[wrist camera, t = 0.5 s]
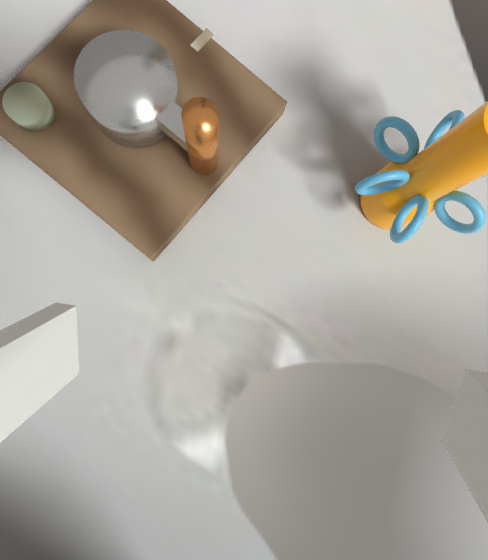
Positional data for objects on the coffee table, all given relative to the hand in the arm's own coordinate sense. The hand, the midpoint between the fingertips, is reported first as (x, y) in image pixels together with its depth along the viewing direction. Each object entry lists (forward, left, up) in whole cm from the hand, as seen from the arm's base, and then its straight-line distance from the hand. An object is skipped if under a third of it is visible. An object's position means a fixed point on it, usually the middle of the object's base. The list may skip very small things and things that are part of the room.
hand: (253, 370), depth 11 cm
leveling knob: (+10, +17, -19) cm, 27 cm away
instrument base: (+10, +20, -21) cm, 31 cm away
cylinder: (+20, -4, -21) cm, 30 cm away
